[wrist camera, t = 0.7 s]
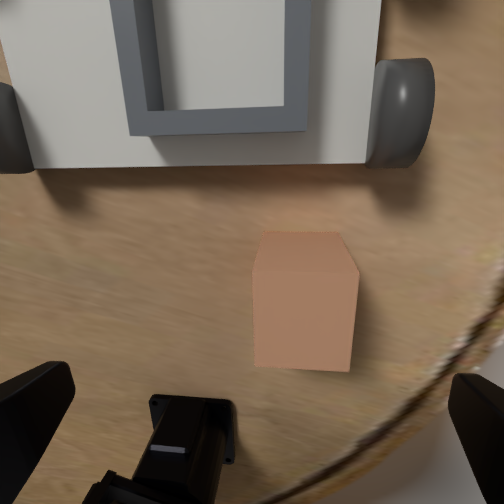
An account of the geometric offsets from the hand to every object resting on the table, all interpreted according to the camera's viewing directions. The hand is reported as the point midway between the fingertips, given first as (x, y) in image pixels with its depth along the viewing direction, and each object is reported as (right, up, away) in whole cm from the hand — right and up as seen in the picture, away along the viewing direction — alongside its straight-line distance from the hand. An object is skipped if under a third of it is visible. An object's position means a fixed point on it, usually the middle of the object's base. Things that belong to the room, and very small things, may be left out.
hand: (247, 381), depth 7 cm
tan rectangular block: (+3, +2, +12) cm, 12 cm away
